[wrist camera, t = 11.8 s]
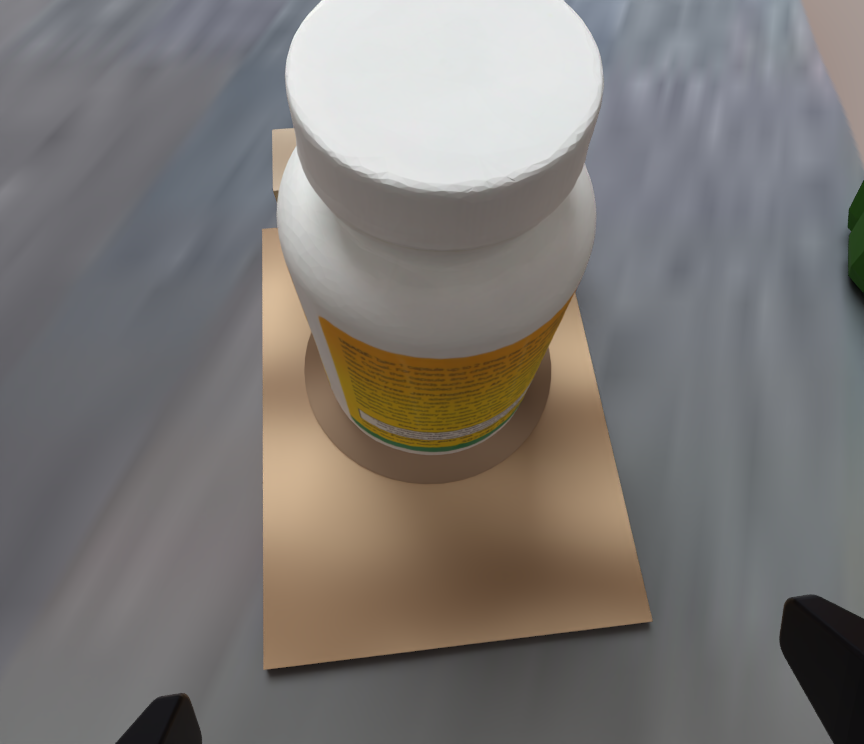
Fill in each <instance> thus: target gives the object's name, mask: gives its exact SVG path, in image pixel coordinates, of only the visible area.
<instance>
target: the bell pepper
mask: <svg viewBox="0 0 864 744" xmlns="http://www.w3.org/2000/svg"><path fill="white" fill-rule="evenodd" d="M848 228H849V229H850V231H851V233H850V235H849V244H848V276H849V277H850V278H851V279H852V280H853V282H854V283H855V284H856V285H857V286H858V287H859V288H860V290H861V291H862V292H863V293H864V181H863V183H862V185H861V187H860V188H859V190H858V192H857V194H856V196H855V198H854V200H853V202H852V204H851V206H850V208H849V215H848Z"/></svg>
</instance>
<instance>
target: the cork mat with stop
mask: <svg viewBox="0 0 864 744" xmlns="http://www.w3.org/2000/svg"><path fill="white" fill-rule="evenodd" d="M272 140H273V192H274V195H275V198H276V201H278V193H279V188H280V183H281V180H282V176H283V173H284V170H285V168H286V165H287V163H288V160H289V158H290V156H291V154H292V152H293V151H294V149H295V147H296V135H295V130H294V128H291V129H277V130H272ZM262 268H263V650H264V670H266V669H274V668H282V667H290V666H298V665H306V664H314V663H322V662H330V661H338V660H346V659H354V658H363V657H371V656H379V655H387V654H395V653H403V652H411V651H419V650H427V649H435V648H443V647H451V646H459V645H467V644H475V643H483V642H491V641H499V640H507V639H515V638H523V637H532V636H540V635H548V634H556V633H564V632H572V631H580V630H588V629H596V628H604V627H612V626H620V625H628V624H636V623H644V622H652V616H651V612H650V608H649V604H648V599H647V595H646V591H645V587H644V582H643V578H642V574H641V570H640V565H639V561H638V557H637V553H636V548H635V544H634V540H633V536H632V532H631V527H630V523H629V519H628V515H627V510H626V506H625V502H624V498H623V493H622V489H621V485H620V481H619V476H618V472H617V468H616V464H615V459H614V455H613V451H612V447H611V442H610V438H609V434H608V430H607V425H606V421H605V417H604V413H603V408H602V404H601V400H600V396H599V391H598V387H597V383H596V379H595V374H594V370H593V366H592V362H591V357H590V353H589V349H588V345H587V340H586V336H585V332H584V328H583V323H582V319H581V315H580V311H579V306H578V302H577V298H576V294H575V293H574V295H573V297H572V299H571V301H570V303H569V305H568V307H567V310H566V312H565V314H564V316H563V318H562V320H561V322H560V324H559V326H558V328H557V330H556V332H555V334H554V336H553V339H552V341H551V343H550V345H549V347H548V348H547V350H546V352H545V355H544V357H543V359H542V361H541V363H540V365H539V367H538V369H537V371H536V373H535V376H534V378H533V380H532V382H531V384H530V386H529V388H528V390H527V392H526V394H525V396H524V398H523V400H522V402H521V403H520V405H519V407H518V408H517V410H516V412H515V413H514V415H513V416H512V418H511V419H510V420H509V421H508V422H507V423H506V425H505V426H504V427H503V428H501V429H500V430H499V431H498V432H497V433H495V434H494V435H493V436H491V437H490V438H488V439H487V440H485V441H484V442H482V443H480V444H478V445H476V446H474V447H471V448H469V449H466V450H463V451H460V452H456V453H451V454H444V455H420V454H414V453H408V452H405V451H401V450H398V449H394V448H391V447H389V446H386V445H384V444H382V443H380V442H377V441H375V440H374V439H372V438H371V437H369V436H368V435H366V434H365V433H364V432H362V431H361V430H360V429H359V428H358V427H357V426H356V425H355V424H354V423H353V422H352V421H351V420H350V419H349V418H348V416H347V415H346V414H345V412H344V411H343V409H342V408H341V406H340V404H339V402H338V401H337V399H336V397H335V395H334V393H333V390H332V389H331V386H330V383H329V380H328V377H327V375H326V372H325V369H324V366H323V363H322V360H321V357H320V354H319V351H318V348H317V345H316V342H315V340H314V337H313V334H312V332H311V330H310V327H309V324H308V322H307V319H306V317H305V314H304V311H303V309H302V306H301V303H300V300H299V298H298V295H297V293H296V290H295V287H294V284H293V282H292V279H291V276H290V273H289V271H288V268H287V265H286V262H285V259H284V256H283V252H282V249H281V244H280V240H279V234H278V228H269V229H262Z"/></svg>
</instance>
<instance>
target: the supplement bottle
mask: <svg viewBox="0 0 864 744" xmlns="http://www.w3.org/2000/svg"><path fill="white" fill-rule="evenodd" d="M285 82H286V91H287V99H288V103H289V108H290V112H291V117H292V121H293V126H294V130H295V135H296V147H295V149H294V151H293V152H292V154H291V156H290V158H289V160H288V163H287V165H286V168H285V170H284V173H283V176H282V180H281V183H280V188H279V193H278V201H277V226H278V234H279V240H280V244H281V249H282V252H283V256H284V259H285V262H286V265H287V268H288V271H289V273H290V276H291V279H292V282H293V284H294V287H295V290H296V293H297V295H298V298H299V300H300V303H301V306H302V309H303V311H304V314H305V317H306V319H307V322H308V324H309V327H310V330H311V332H312V334H313V337H314V340H315V342H316V345H317V348H318V351H319V354H320V357H321V360H322V363H323V366H324V369H325V372H326V375H327V377H328V380H329V383H330V386H331V389H332V390H333V393H334V395H335V397H336V399H337V401H338V402H339V404H340V406H341V408H342V409H343V411H344V412H345V414H346V415H347V416H348V418H349V419H350V420H351V421H352V422H353V423H354V424H355V425H356V426H357V427H358V428H359V429H360V430H361V431H362V432H364V433H365V434H366V435H368V436H369V437H371V438H372V439H374V440H375V441H377V442H380V443H382V444H384V445H386V446H389V447H391V448H394V449H398V450H401V451H405V452H408V453H414V454H420V455H444V454H451V453H456V452H460V451H463V450H466V449H469V448H471V447H474V446H476V445H478V444H480V443H482V442H484V441H485V440H487V439H488V438H490V437H491V436H493V435H494V434H495V433H497V432H498V431H499V430H500V429H501V428H503V427H504V426H505V425H506V423H507V422H508V421H509V420H510V419H511V418H512V416H513V415H514V413H515V412H516V410H517V408H518V407H519V405H520V403H521V402H522V400H523V398H524V396H525V394H526V392H527V390H528V388H529V386H530V384H531V382H532V380H533V378H534V376H535V373H536V371H537V369H538V367H539V365H540V363H541V361H542V359H543V357H544V355H545V352H546V350H547V348H548V347H549V345H550V343H551V341H552V339H553V336H554V334H555V332H556V330H557V328H558V326H559V324H560V322H561V320H562V318H563V316H564V314H565V312H566V310H567V307H568V305H569V303H570V301H571V299H572V297H573V295H574V293H575V291H576V289H577V287H578V285H579V283H580V281H581V279H582V277H583V274H584V271H585V269H586V266H587V264H588V261H589V258H590V255H591V251H592V247H593V243H594V238H595V227H596V205H595V197H594V192H593V187H592V183H591V180H590V176H589V174H588V171H587V169H586V166H585V164H584V163H585V159H586V155H587V150H588V146H589V143H590V140H591V137H592V134H593V131H594V128H595V124H596V121H597V118H598V114H599V111H600V108H601V102H602V95H603V88H604V81H603V69H602V62H601V57H600V54H599V50H598V47H597V45H596V43H595V41H594V39H593V37H592V35H591V33H590V31H589V30H588V28H587V27H586V25H585V23H584V22H583V20H582V19H581V18H580V17H579V16H578V15H577V14H576V12H575V11H574V10H573V9H572V8H571V7H569V6H568V5H567V4H566V3H565V2H564V1H563V0H322V1H321V2H320V3H319V4H318V5H317V6H316V7H315V8H314V9H313V10H312V11H311V12H310V13H309V14H308V16H307V17H306V18H305V20H304V21H303V22H302V24H301V26H300V27H299V29H298V30H297V32H296V34H295V36H294V38H293V40H292V43H291V46H290V50H289V53H288V57H287V61H286V72H285Z"/></svg>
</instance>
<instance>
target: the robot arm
mask: <svg viewBox="0 0 864 744" xmlns="http://www.w3.org/2000/svg"><path fill="white" fill-rule="evenodd" d="M779 640H780V647H781V650H782V652H783V655H784V657H785V659H786V660H787V662H788V664H789V666H790V667H791V669H792V671H793V673H794V675H795V676H796V678H797V680H798V682H799V683H800V685H801V687H802V689H803V690H804V692H805V694H806V696H807V697H808V699H809V701H810V703H811V705H812V706H813V708H814V710H815V712H816V713H817V715H818V717H819V719H820V720H821V722H822V724H823V726H824V727H825V729H826V731H827V733H828V735H829V736H830V738H831V740H832V741H833V743H834V744H864V619H863V618H861V617H859V616H857V615H855V614H853V613H851V612H849V611H847V610H845V609H844V608H842V607H840V606H838V605H836V604H834V603H832V602H830V601H828V600H826V599H824V598H822V597H819V596H817V595H811V594H810V595H803V596H797V597H791V598H788V599H787V600H786V602H785V604H784V609H783V616H782V622H781V629H780V636H779ZM115 744H202V735H201V731H200V728H199V725H198V722H197V719H196V716H195V713H194V710H193V707H192V704H191V701H190V699H189V697H188V696H187V695H186V694H185V693H179V694H173V695H166V696H161V697H158V698H156V699H155V700H154V701H153V702H152V703H151V704H150V705H149V706H148V707H147V708H146V709H145V710H144V712H143V713H142V714H141V715H140V716H139V717H138V718H137V720H136V721H135V722H134V723H133V724H132V725H131V726H130V727H129V729H128V730H127V731H126V732H125V733H124V734H123V735H122V737H121V738H120V739H119V740H118V741H117V742H116V743H115Z"/></svg>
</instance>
